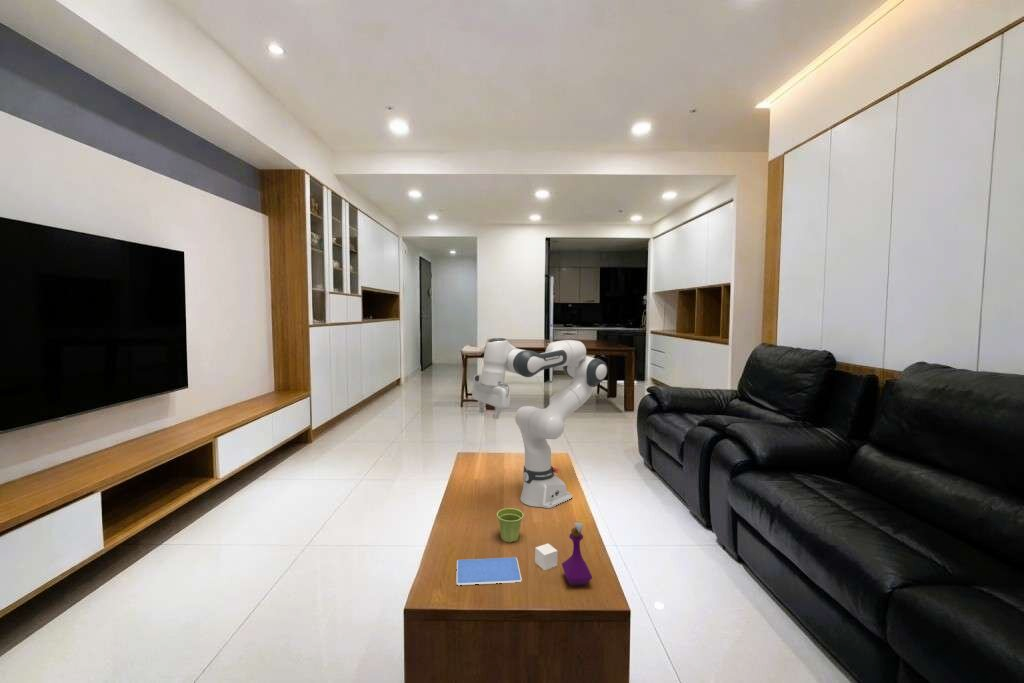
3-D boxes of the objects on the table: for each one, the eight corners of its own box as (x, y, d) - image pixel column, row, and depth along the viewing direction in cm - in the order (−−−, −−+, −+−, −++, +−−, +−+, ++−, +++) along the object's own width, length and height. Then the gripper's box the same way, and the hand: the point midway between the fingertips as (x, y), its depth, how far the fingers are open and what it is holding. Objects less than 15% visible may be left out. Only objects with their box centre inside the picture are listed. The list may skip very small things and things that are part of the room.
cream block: (547, 558, 139) (548, 543, 138) (557, 566, 134) (557, 550, 134) (535, 562, 136) (535, 547, 136) (544, 570, 132) (544, 555, 131)
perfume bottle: (561, 573, 130) (562, 516, 129) (585, 573, 131) (587, 515, 130) (566, 589, 123) (568, 528, 122) (592, 588, 123) (593, 528, 122)
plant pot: (526, 534, 153) (526, 510, 153) (518, 547, 144) (518, 522, 144) (502, 529, 156) (502, 506, 156) (492, 542, 147) (492, 518, 147)
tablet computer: (517, 560, 138) (517, 556, 138) (522, 584, 126) (522, 580, 125) (456, 563, 136) (456, 559, 136) (456, 588, 123) (456, 584, 123)
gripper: (516, 384, 158) (511, 421, 158) (484, 375, 174) (480, 409, 174) (502, 384, 154) (498, 422, 154) (471, 375, 170) (467, 410, 170)
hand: (488, 415), depth 164 cm, fingers open, 8 cm apart
